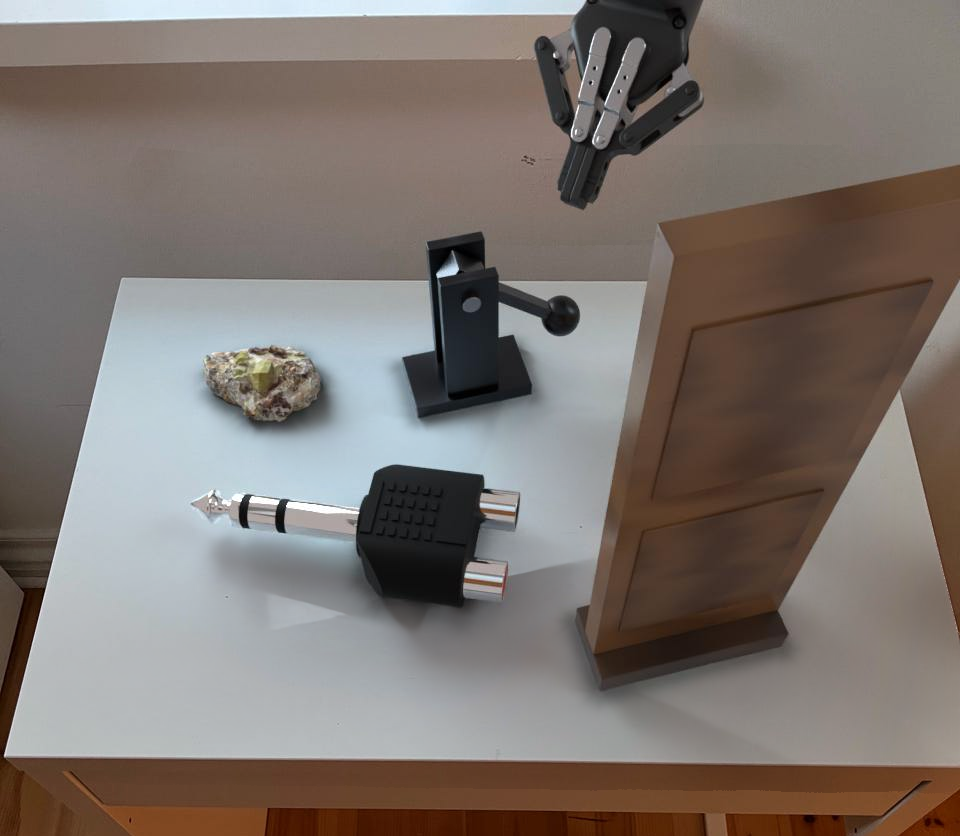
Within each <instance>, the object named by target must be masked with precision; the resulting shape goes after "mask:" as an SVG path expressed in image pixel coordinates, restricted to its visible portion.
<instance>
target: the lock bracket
mask: <svg viewBox="0 0 960 836" xmlns="http://www.w3.org/2000/svg"><path fill="white" fill-rule="evenodd" d="M452 250H454V251H456V252H458V253H461V254H463V255H466V256H468V257H471V258H473V259H476V260H478V261H481V262H482V264H483V266H484V269H481V270H476V271H470V272H465V273H460V274H455V275H450V276H445V277H440V278H438V279H437V276H436V274H437V272H438V271H439V269H440V268H441V266H442V265H443V263H444V262H445V260H446V259H447V257H448V256H449V254H450V253H451V251H452ZM425 255H426V265H427V277H428V279H427V280H428V289H429V291H428V292H429V301H430V303H429V304H430V314H431V315H430V316H431V326H432V338H433V350H431V351H426V352H420V353H415V354H411V355H406V356H402V357H401V362H402V368H403V372H404V376H405V378H406V383H407V386H408V390H409V393H410V396H411V399H412V402H413V407H414V409H415V412H416V416H417V419H421V418H425V417H430V416H435V415H440V414H445V413H450V412H454V411H459V410H463V409H469V408H472V407H473V408H474V407H479V406H482V405H487V404H492V403H497V402H501V401H507V400H511V399H515V398H520V397H526V396H530V395H532V394H533V383H532V379H531V377H530V375H529V373H528V370H527V366H526V364H525V361H524V359H523V356H522V353H521V351H520V347H519V346H518V343H517V340H516V337H515V334H509V335H504V336H500V335H499V334H500V332H499V331H500V327H499V325H500V322H499V321H500V320H499V319H500V317H499V316H500V315H499V314H500V313H499V311H500V302H499V282H500V275H499V272H498V269H497V267H496V266H492V267H491V266H490V267H487V268H486V238H485V236H484V234H483V231H481V230H480V231H476V232H470V233H464V234H460V235H454V236H449V237H444V238H438V239H434V240H428V241H425Z"/></svg>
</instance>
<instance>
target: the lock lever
mask: <svg viewBox="0 0 960 836" xmlns="http://www.w3.org/2000/svg"><path fill="white" fill-rule="evenodd" d="M481 269H484V266H483V264H482V262H481V261H478V260H476V259H473V258H471V257H468V256H466V255H463V254H461V253H458V252H456V251H454V250H452V251H451V253H450V254H449V256H448V257H447V259H446V260H445V262H444V263H443V265H442V266H441V268H440V269H439V271H438V272H437V274H436V276H437V279H438V278H440V277H445V276H450V275H455V274H460V273H465V272H470V271H476V270H481ZM499 304H502V305H506V306H508V307H511V308H513V309H516V310H519V311H521V312H524V313H527V314H529V315H532V316H535V317H537V318H540V320H541V323H542V326H543V328H544V330H546V332H547V333H549V334H550V335H552V336H555V337H566V336H568V335H570V334H572V333H573V332H574V331H575V330H576V329H577V327H578V326H579V323H580V321H581V320H580V319H581V310H580V307H579V305H578V304H577V302H576V301H575V300H574V299H573V298H572V297H570V296H567V295H555V296H553V297H550V298H549V299H548V300H546V299H543V298H541V297H538V296H536V295H533V294H530V293H528V292H525V291H523V290H521V289H518V288H515V287H513V286H510V285H507V284H505V283H503V282H500V281H499Z"/></svg>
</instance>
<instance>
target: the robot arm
mask: <svg viewBox="0 0 960 836" xmlns="http://www.w3.org/2000/svg"><path fill="white" fill-rule="evenodd" d="M703 3H704V0H585V2H584V4H582V7H581V8H580V9H579V10H578V11H577V13H576V14H575V15H574V16H573V18H572V20H571V23H570V28H569V29H567V30H565V31H563V32H561V33H559V34H557V35H555V36H553V37H551V38H549V37H548V36H546V35H540V36H538V37H537V38H536V39H535V41H534V44H533V50H534V54H535V58H536V62H537V66H538V70H539V74H540V77H541V81H542V86H543V89H544V94H545V97H546V100H547V104H548V108H549V109H548V110H549V113H550V117H551V120H552V123H554V124H555V125H556V127H558V128H560V130H561V132H563V134H566V135H567V136H568V138H569V146H568V149H567V152H566V154H565V158H564V161H563V163H562V167H561V169H560V173H559V176H558V178H557V182H556V184H557V186H556V187H557V188H556V189H557V191H559V192H560V195H559V200H560V201H561V202H562V203H564V204H565V205H567V206H570V207H573V208H576V209H579V210H582V211H584V210H586V209H587V206H588V203H589V204H591V205H592V204H594V203H595V202H596V200H597V199H598V198H599V195H600V192H601V189H602V187H603V183H604V181H605V179H606V175H607V173H608V170H609V168H610V165H611V162H612V161H613V160H614V159H615V158H616V157H617V156H623V155H631V156H638V155H640V154H641V153H642V152H645V151H646V150H647V149H648V148H649V147H650V146H653V145H654V144H655V143H656V142H657V141H659V140H660V139H662V138H663V137H664V136H666V135H667V134H668V133H670V132H671V131H672V130H674V129H675V128H677V126H679V125H681V124H682V123H683V122H684V121H686V120H687V119H689V118H690V117H691V116H692V115H694V114H695V113H696V112H698V111H699V110H701V109H702V107H703V106H704V103H705V97H704V94H703V92H702V90H701V87H700V86H699V84H698V81H695V80H694V79H693V78H692V76H691V74H690V72H689V71H688V69H687V65H688V63H689V59H690V48H689V47H690V46H689V44H690V37H691V34H692V31H693V29H694V27H695V24H696V21H697V18H698V16H699V13H700V11H701V8H702V5H703ZM573 52H574V56H575V60H576V65H577V69H578V75H579V78H580V80H581V86H580V89H579V92H578V97H577V102H578V103H577V104H578V105H577V109H576V111H575V109H574V104H573V99H572V96H571V92H570V89H569V85H568V80H567V76H566V72H567V71H568V70H569V69H570V67H571V65H572V54H573ZM667 84H668V85H667ZM666 85H667V86H666ZM665 86H666V88H665V89H664V92H663V99H662V100H660V101H659V102H658V103H656V104H655V105H654V106H653V107H651V108H650V109H649V110H647V111H646V112H645V113H643V114H642V115H641V116H640V117H638V118H637V119H635V120H634V118H635V116H636V114H637V111H638V110H639V106H640V105H642V104H644V103H645V102H647V101H648V100H649V99H650V98H651V97H653V96H654V95H655V94H656V93H658V92H659V91H660V90H662V89H663V88H664V87H665Z"/></svg>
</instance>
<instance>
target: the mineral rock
mask: <svg viewBox="0 0 960 836" xmlns="http://www.w3.org/2000/svg"><path fill="white" fill-rule="evenodd" d="M202 361H203V367H204V368H203V375H204V378H205V383H206V386H208V387H209V388H210V389H211V390H212V392H213V394H214V395H216V396H218V397H219V398H222V399H223V400H224V401H225V402H226V403H228V404H231V405H235V406H240V407H241V408H242V410H243V412H242V415H244V416H245V417H247V418H250V419H251V420H252V421H262V422H265V423H267V422H272V421H274V420H275V421H276V422H278V423H282V422H284V421H285V420H286V419H287V418H288V416H290V415H291V413H292V412H298V411H300V410H303V409H305V408H308V407H309V406H310V405H311V403H312V402H313V401H315V400H317V399H318V398H317V395H318V394H319V392H320V390H321V389H322V388H321V381H322V379H321V378H322V376H321V375H320V373H318V370H317V369H316V367H315V364H314V362H313V360H312V359H311V358H310V357H307V353H306V352H304V351H302V350H296V348H295V347H293V346H288V347H287V348H286V347H283V346H282V347H279V346H277V345H273V344H271V345H269V346H266V347H263V348H261V347H257V346H254V347H247V348H243V349H242V348H241V349H237V350H234V351H227V352H225V351H213V352H212V353H210V354H209V355H208V354H207V355H206V356H205V358H204V359H203V360H202Z"/></svg>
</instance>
